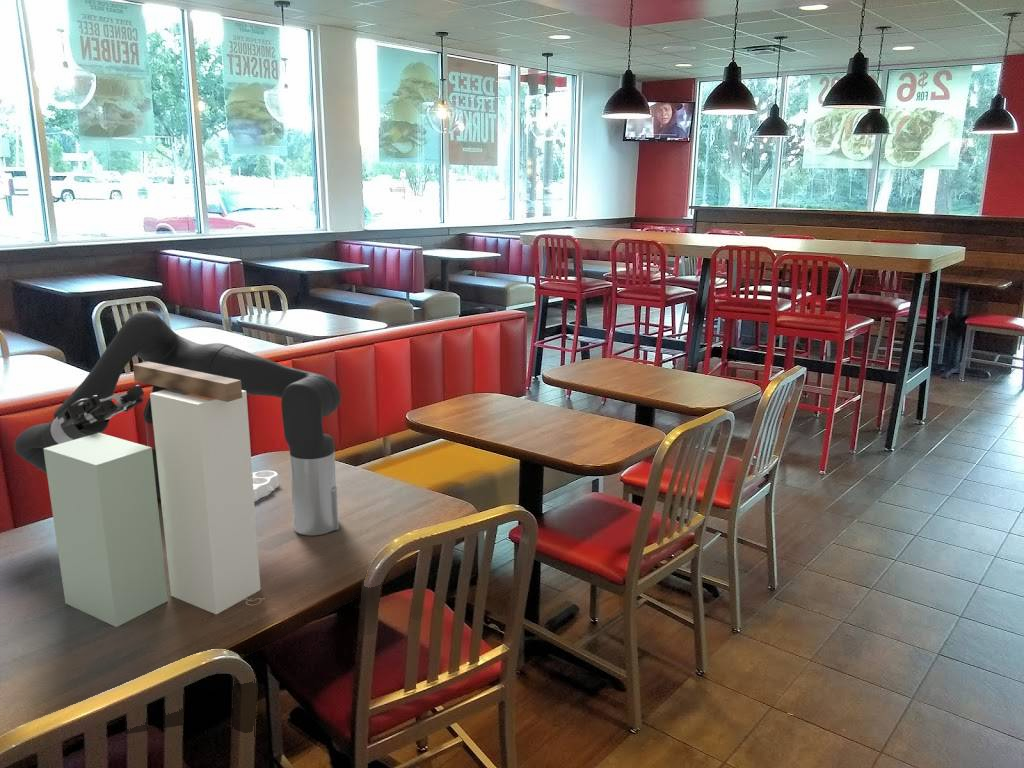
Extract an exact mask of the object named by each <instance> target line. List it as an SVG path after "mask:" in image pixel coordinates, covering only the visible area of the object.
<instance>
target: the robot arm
mask: <svg viewBox="0 0 1024 768" xmlns="http://www.w3.org/2000/svg"><path fill="white" fill-rule="evenodd" d="M135 356H137V357H138V358H139V359H140V360H141V361H143V362H153V363H158V364H163V365H168V366H173V367H178V368H183V369H188V370H193V371H198V372H203V373H208V374H212V375H217V376H222V377H227V378H232V379H237V380H241V388H242V390H244V391H246V394H247V395H250V396H265V397H274V398H278V399H279V398H280V399H281V401H280V402H281V403H280V404H281V405H280V406H281V416H282V424H283V433H284V439H285V442H286V444H287V446H288V448H289V461H290V462H289V464H290V479H291V480H290V482H291V497H292V499H291V500H292V515H293V517H292V519H293V529H294V530H293V531H295V533H297V534H300V535H301V536H302V535H303V536H321V535H325V534H328V533H329V534H330V532H334V531H339V509H338V506H339V505H338V504H339V503H338V489H337V488H338V487H337V482H336V481H337V479H336V478H337V475H336V455H335V454H336V452H335V450H336V449H335V440H334V437H332V436H331V435H330V434H327V433H324V430H323V420H322V419H324V418H326V417H328V416H330V415H331V414H332V413H334V412H335V410H337V409H338V407H339V406H340V404H341V400H342V396H341V393H340V389H339V387H338V386H337V384H336V383H335V382H334V381H333V380H332V379H330V378H328V377H327V376H326V375H323V374H319V373H316V372H312V371H306V370H302V369H297V368H294V367H290V366H286V365H285V364H284V365H283V364H280V363H279V362H276V361H273V360H270V359H267V358H265V357H262V356H259V355H257V354H254V353H252V352H249V351H246V350H243V349H240V348H238V347H236V346H235V347H234V346H232V345H229V344H225V343H219V342H217V343H216V342H215V343H204V344H201V343H197V342H194V341H192V340H189V339H188V338H184V337H183V336H180V335H179V334H177V333H176V332H175V331H174V330H172V329H171V327H170V326H169V325H168V324H167V323H166V322H165V321H164V320H163V319H162V318H161V316H160V315H159V314H157V313H156V312H153V311H149V310H142V311H139V312H136V313H134V314H133V315H131V316H130V317H128V318H127V320H126V321H125V322H124V323H123V324H122V325H121V326H120V328H119V330H118V331H117V333H116V334H115V335H114V337H113V339H112V340H111V342H110V343H109V344H108V346H107V348H105V350H104V351H103V353H102V354H101V356H100V357H99V359H98V360H97V361H96V364H95V365H94V366H93V367H92V369H91V371H90V372H89V374H88V375H87V376H86V377H85V378H84V380H83V381H82V382H81V383H80V384H79V385H78V387H76V388H75V390H74V391H73V392H72V393H71V394H70V395H69V396H68V397H67V398H65V400H64V402H63V403H61V405H60V406H59V407H58V408H57V409H56V410H55V411H54V413H53V415H52V416H53V420H52V421H50V422H46V423H45V422H44V423H40V424H36V425H33V426H31V427H28V428H27V429H25V430H23V431H22V432H21V433H20V434H19V435H18V436H17V437H16V438H15V441H14V443H13V447H14V451H15V453H16V455H18V457H20V458H22V459H23V460H25V461H26V462H27V463H29V464H31V465H32V466H34V467H35V468H36V469H38V470H40V471H41V472H43V473H45V474H46V475H47V471H46V464H45V457H44V450H43V448H47V447H50V446H54V445H58V444H61V443H65V442H68V441H72V440H75V439H79V438H82V437H86V436H89V435H93V434H97V433H102V434H103V432H104V431H105V430H106V429H107V428H108V426H109V422H110V419H112V418H113V417H114V416H115V415H117V414H120V413H122V412H124V413H126V412H127V413H128V412H129V411H130V410H132V409H133V408H134V407H136V406H138V405H139V404H141V403H142V402H144V398H143V396H144V394H145V392H144V390H143V388H142V386H141V385H140V384H137V385H134V386H133V387H131V388H130V389H129V390H127V391H125V392H123V393H114V392H115V390H116V387H117V384H118V382H119V380H120V377H121V375H122V373H123V371H124V369H125V368H126V366H127V365H128V363H130V361H131V360H132V359H133V358H134V357H135ZM113 400H115V401H116V403H117V404H116V403H115V402H114V401H113Z"/></svg>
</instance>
